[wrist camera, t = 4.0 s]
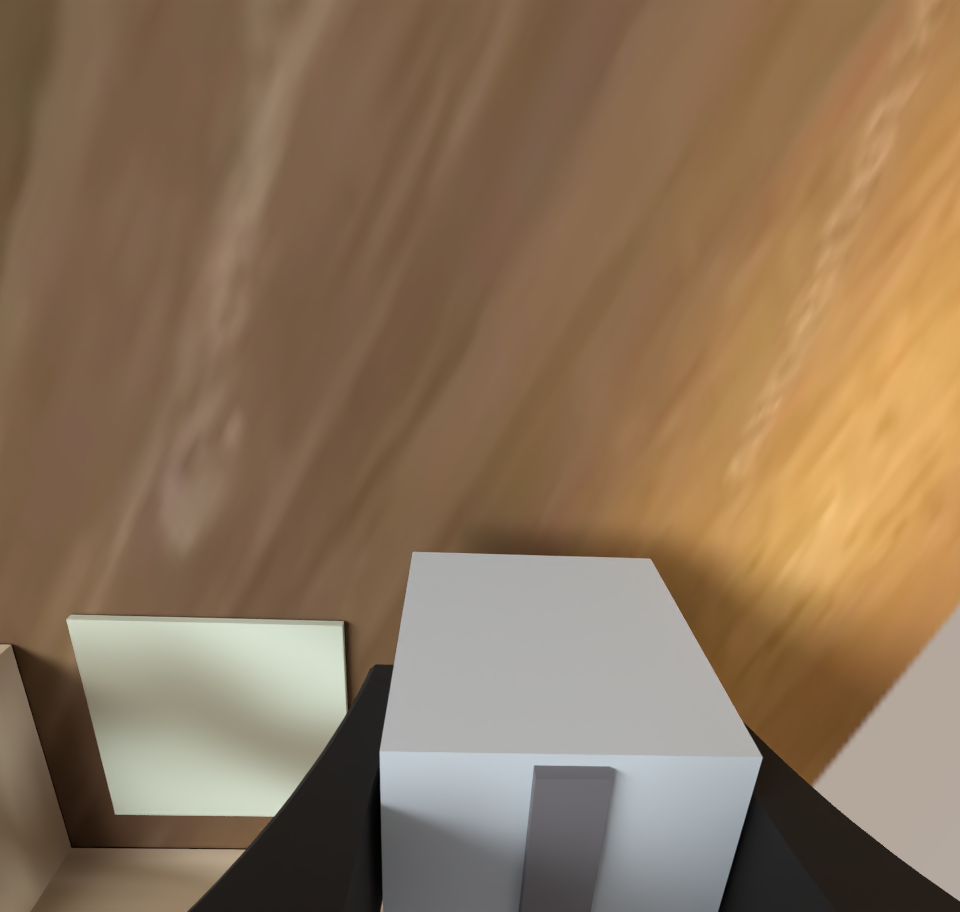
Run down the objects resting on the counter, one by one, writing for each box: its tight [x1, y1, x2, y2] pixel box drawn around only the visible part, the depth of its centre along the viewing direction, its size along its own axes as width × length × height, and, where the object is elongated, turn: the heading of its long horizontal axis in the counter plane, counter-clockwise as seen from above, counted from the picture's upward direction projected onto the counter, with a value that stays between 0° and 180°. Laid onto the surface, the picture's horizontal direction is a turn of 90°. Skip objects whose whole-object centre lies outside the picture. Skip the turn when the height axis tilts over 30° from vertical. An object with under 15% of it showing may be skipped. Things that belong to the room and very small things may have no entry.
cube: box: [380, 552, 763, 912], centre depth 11 cm, size 5×5×5 cm
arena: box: [0, 615, 383, 912], centre depth 16 cm, size 10×18×3 cm, turn 87°
